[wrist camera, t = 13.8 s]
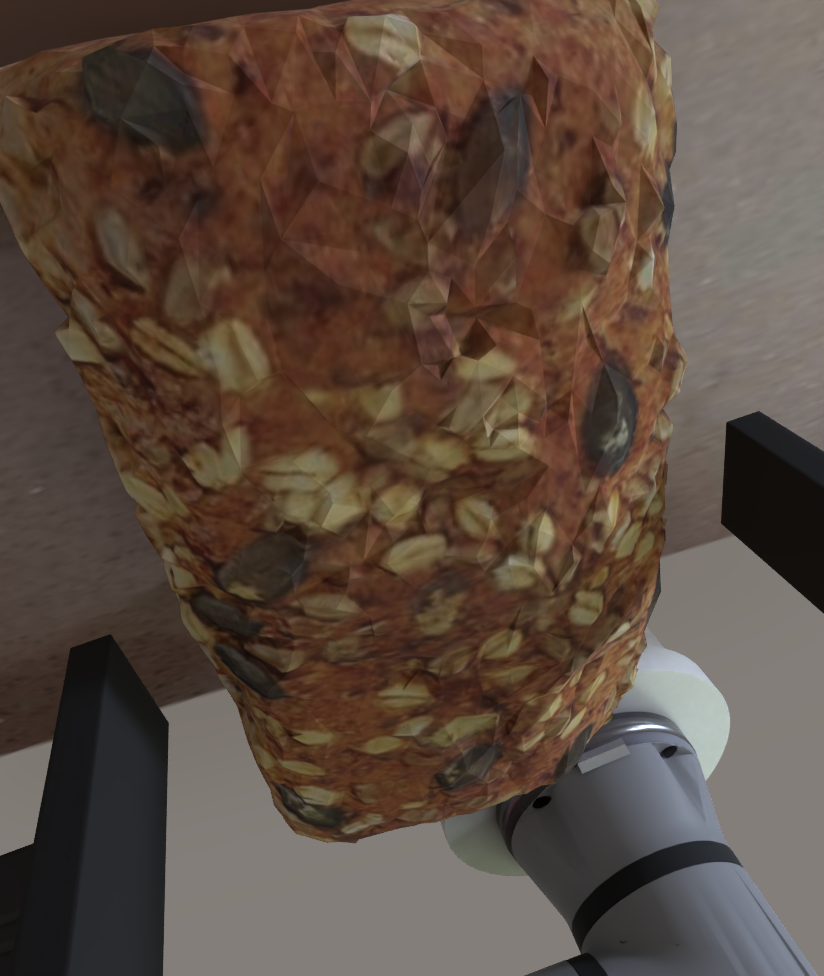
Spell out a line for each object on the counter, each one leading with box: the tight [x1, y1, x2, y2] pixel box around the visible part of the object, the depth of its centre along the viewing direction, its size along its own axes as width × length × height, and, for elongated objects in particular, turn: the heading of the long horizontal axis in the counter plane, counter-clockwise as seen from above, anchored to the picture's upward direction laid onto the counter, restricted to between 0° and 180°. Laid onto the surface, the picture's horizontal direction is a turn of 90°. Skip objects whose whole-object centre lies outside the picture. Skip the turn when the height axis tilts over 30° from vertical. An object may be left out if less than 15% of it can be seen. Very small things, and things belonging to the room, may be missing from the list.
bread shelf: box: [0, 0, 351, 68], centre depth 23 cm, size 22×13×6 cm, turn 12°
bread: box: [0, 0, 688, 843], centre depth 17 cm, size 19×11×10 cm, turn 7°
